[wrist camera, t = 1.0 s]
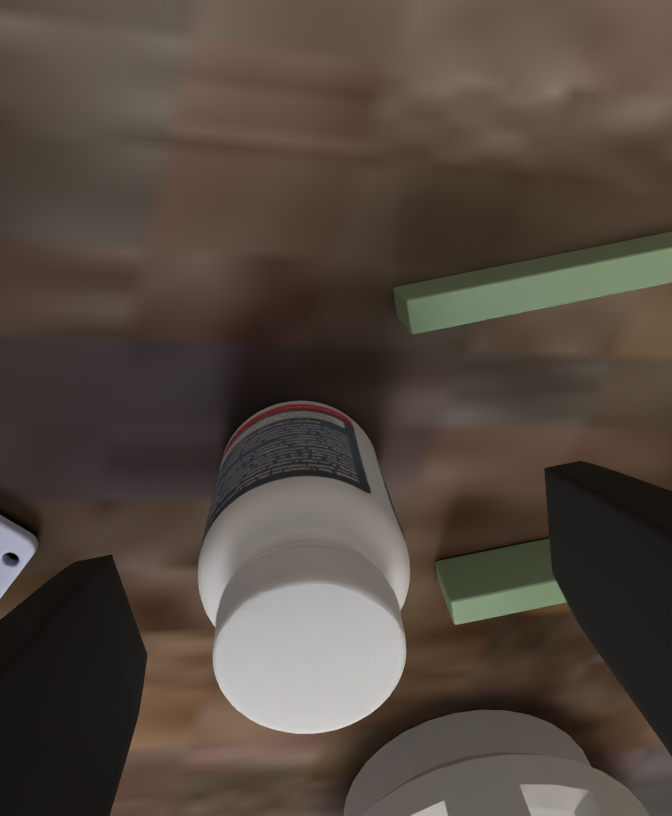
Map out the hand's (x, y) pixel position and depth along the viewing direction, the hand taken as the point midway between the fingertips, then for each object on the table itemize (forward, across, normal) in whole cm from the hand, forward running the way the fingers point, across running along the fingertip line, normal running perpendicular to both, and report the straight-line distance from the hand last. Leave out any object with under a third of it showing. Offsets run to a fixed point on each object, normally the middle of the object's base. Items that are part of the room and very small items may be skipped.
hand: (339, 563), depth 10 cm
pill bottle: (+10, +1, +3) cm, 11 cm away
